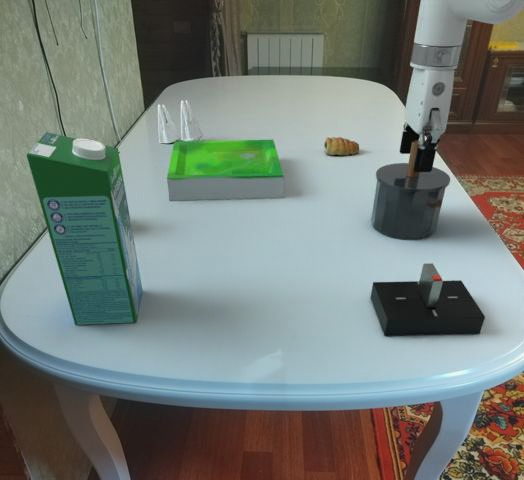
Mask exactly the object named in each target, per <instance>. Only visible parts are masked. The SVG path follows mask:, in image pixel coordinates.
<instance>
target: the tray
mask: <svg viewBox="0 0 524 480" xmlns="http://www.w3.org/2000/svg"><path fill="white" fill-rule="evenodd" d="M171 150H172V151H171V156H170V159H169V161H170V162H169V165H168V170H167V177H166V183H167V190H168V199H169V202H175V201H176V202H177V201H178V202H179V201H180V202H181V201H182V202H183V201H211V200H212V201H214V200H248V199H249V200H250V199H279V198H281V199H282V198H284V183H285V182H284V181H285V174H284V172H283V171H284V170H283V168H282V164H281V161H280V157H279V154H278V151H277V148H276V143H275V141H274V139H240V140H239V139H237V140H235V139H234V140H199V141H185V142H184V141H174V142H173V146H172V149H171Z"/></svg>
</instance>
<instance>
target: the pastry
mask: <svg viewBox="0 0 524 480" xmlns="http://www.w3.org/2000/svg"><path fill="white" fill-rule="evenodd" d="M323 148H324V149H323V151H324V153H325V154H327V155H329V156H336V155H338V156H350V155H349V154H352V155H355V154H358V153H359V152H360V144H359V143H358V142H356V141H354V140H352V141H351V140H350V139H348V138H343V137H341V136H338V137H335V136H333V137H326V138H325V140H324V144H323Z"/></svg>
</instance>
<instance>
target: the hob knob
mask: <svg viewBox="0 0 524 480" xmlns="http://www.w3.org/2000/svg"><path fill="white" fill-rule="evenodd" d="M443 281H444V280H443V278H442V276H441V275H440V273H439V272H438V270H437V268H436V266H435V265H434V263H432V262H431V263H430V262H429V263H423V264H422V267H421V273H420V277H419V286H418V291H419V293H420V295H421V297H422V299H423V301H424V303H425V305H426V307H427V308H436V306H437V303H438V299H439V295H440V291H441V287H442V283H443Z"/></svg>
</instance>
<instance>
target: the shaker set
mask: <svg viewBox="0 0 524 480" xmlns="http://www.w3.org/2000/svg"><path fill="white" fill-rule="evenodd" d="M157 128H158V144H159V145H160V144H170V143H174V142H177V140H180V139H181V142H185V141H201V138H202V137H203V135H204V133H203V131H202V129H201V126H200V124H199V122H198V119H197V117H196V115H195V113H194V110H193V109H192V106H191V104H190V103H189V101H188V100H187V99H186V100H181V101H180V133H179V131H178V130H177V127H176V125H175V123H174V120H173V118H172V117H171V115H170V112H169V111H168V109H167V106H166V105H165V104H162V106H161V104H158V105H157ZM180 135H181V136H180Z"/></svg>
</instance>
